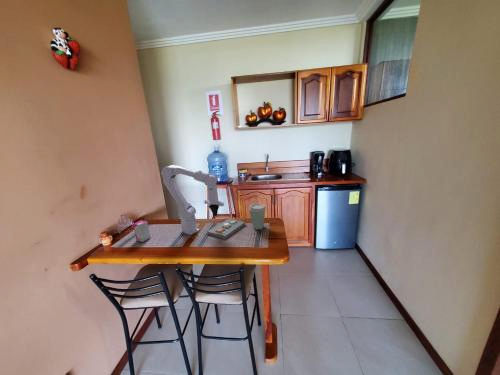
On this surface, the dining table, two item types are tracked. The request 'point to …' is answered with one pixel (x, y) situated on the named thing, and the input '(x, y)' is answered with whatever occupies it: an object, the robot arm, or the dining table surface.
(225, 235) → the button panel
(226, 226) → the ivory button
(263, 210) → the disposable coffee cup
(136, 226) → the supplement box
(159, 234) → the dining table surface
